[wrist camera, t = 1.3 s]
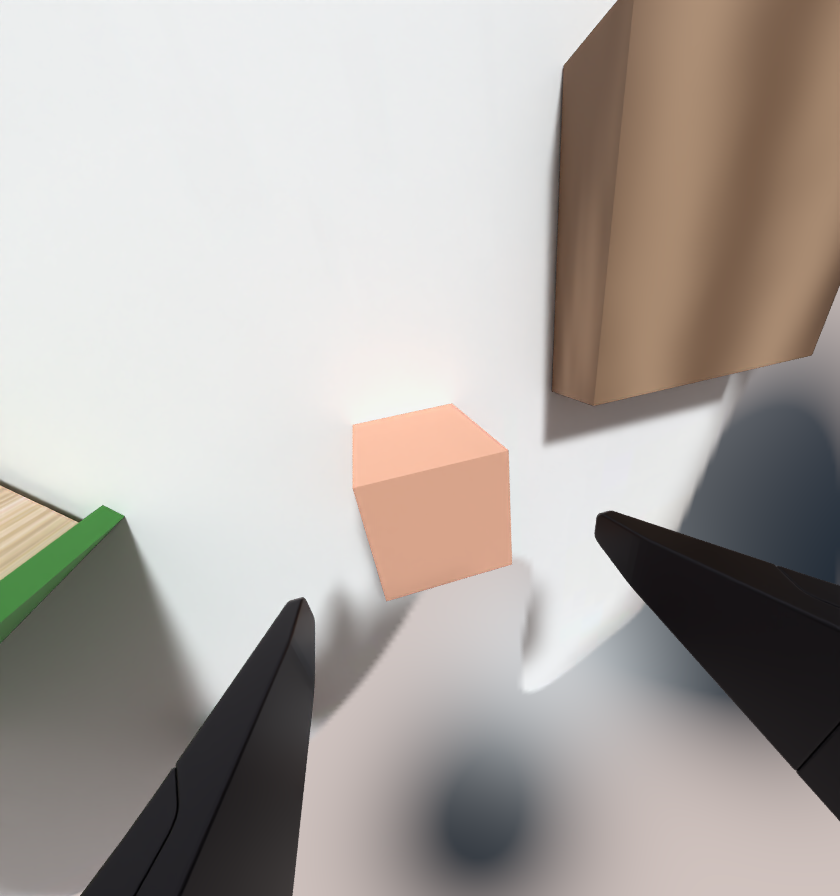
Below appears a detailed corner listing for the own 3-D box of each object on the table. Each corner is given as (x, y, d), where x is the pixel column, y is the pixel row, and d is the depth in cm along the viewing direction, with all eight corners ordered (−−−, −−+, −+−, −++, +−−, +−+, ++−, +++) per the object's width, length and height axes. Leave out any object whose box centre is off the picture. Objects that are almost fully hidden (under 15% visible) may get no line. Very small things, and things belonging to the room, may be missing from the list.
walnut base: (828, 47, 12) (964, -32, 9) (739, 350, 17) (811, 355, 14) (563, 65, 11) (635, -22, 8) (551, 391, 16) (593, 405, 13)
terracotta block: (451, 403, 15) (508, 450, 9) (461, 486, 17) (511, 564, 12) (352, 424, 14) (352, 488, 9) (375, 508, 16) (386, 601, 11)
